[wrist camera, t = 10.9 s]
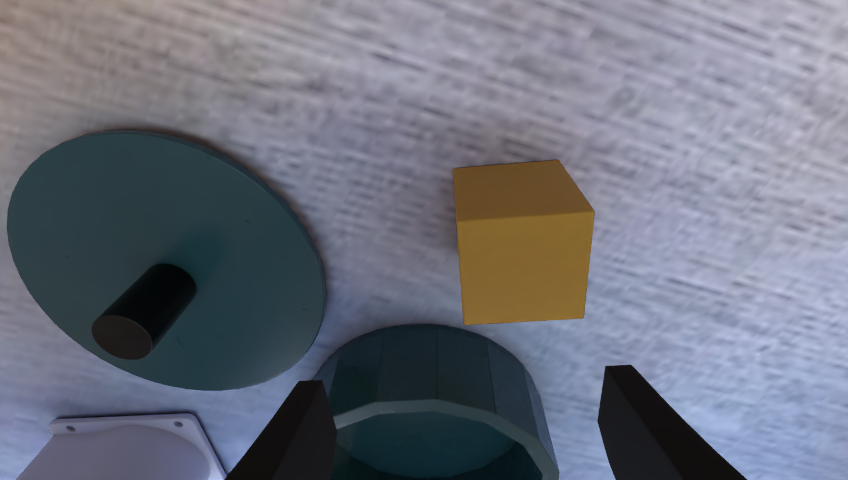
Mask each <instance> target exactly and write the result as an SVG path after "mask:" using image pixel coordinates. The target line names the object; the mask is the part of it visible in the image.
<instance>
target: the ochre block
mask: <svg viewBox="0 0 848 480" xmlns="http://www.w3.org/2000/svg"><path fill="white" fill-rule="evenodd" d="M453 184H454V198H455V213H456V227H457V241H458V256H459V270H460V283H461V297H462V311H463V323H464V325H475V324H493V323H511V322H529V321H547V320H565V319H582V318H584V311H585V301H586V292H587V282H588V272H589V263H590V253H591V243H592V233H593V224H594V214H595V211H594V210H593V208H592V207H591V205H590V204H589V202H588V201H587V200H586V198H585V197H584V195H583V194H582V192H581V191H580V190H579V188H578V187H577V185H576V184H575V182H574V181H573V180H572V178H571V177H570V175H569V174H568V173H567V171H566V170H565V168H564V167H563V165H562V164H561V163H560V161H559V160H550V161H538V162H526V163H513V164H501V165H489V166H477V167H464V168H454V169H453Z"/></svg>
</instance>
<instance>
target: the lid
mask: <svg viewBox="0 0 848 480" xmlns="http://www.w3.org/2000/svg"><path fill="white" fill-rule="evenodd" d="M7 232H8V241H9V246H10V250H11V253H12V257H13V261H14V263H15V265H16V268H17V270H18V272H19V275H20V277H21V279H22V280H23V282H24V284H25V286H26V287H27V289H28V291H29V292H30V294H31V295H32V297H33V298H34V299H35V301H36V302H37V303H38V305H39V306H40V307H41V309H42V310H43V311H44V312H45V313H46V314H47V315H48V316H49V318H50V319H51V320H52V321H53V322H54V323H55V324H56V325H57V326H58V327H59V328H60V329H62V330H63V331H64V332H65V333H66V334H67V335H68V336H69V337H71V338H72V339H73V340H74V341H76V342H77V343H78V344H80V345H81V346H82V347H84V348H85V349H87V350H88V351H90V352H91V353H93V354H94V355H96V356H97V357H99V358H101V359H102V360H104V361H106V362H108V363H110V364H112V365H114V366H115V367H117V368H120V369H122V370H124V371H126V372H129V373H131V374H133V375H136V376H138V377H141V378H144V379H147V380H150V381H153V382H157V383H161V384H164V385H168V386H173V387H179V388H184V389H192V390H203V391H222V390H232V389H239V388H244V387H249V386H253V385H256V384H259V383H262V382H265V381H268V380H270V379H272V378H274V377H276V376H278V375H280V374H282V373H283V372H285V371H286V370H288V369H289V368H291V367H292V366H293V365H294V364H296V363H297V362H298V361H299V360H300V359H301V358H302V357H303V356H304V355H305V353H306V352H307V351H308V350H309V348H310V347H311V346H312V344H313V342H314V340H315V338H316V336H317V335H318V332H319V329H320V326H321V323H322V320H323V317H324V312H325V306H326V282H325V277H324V271H323V267H322V264H321V261H320V258H319V255H318V252H317V250H316V248H315V246H314V243H313V241H312V239H311V237H310V235H309V233H308V232H307V230H306V229H305V227H304V226H303V224H302V223H301V221H300V220H299V218H298V217H297V216H296V214H295V213H294V212H293V211H292V210H291V208H290V207H289V206H288V205H287V204H286V202H285V201H284V200H283V199H282V198H281V197H280V196H279V195H278V194H277V193H275V192H274V191H273V190H272V189H271V188H270V187H269V186H268V185H267V184H266V183H265V182H263V181H262V180H261V179H259V178H258V177H257V176H255V175H254V174H253V173H251V172H250V171H249V170H247V169H246V168H244V167H243V166H241V165H239V164H238V163H236V162H234V161H233V160H231V159H229V158H228V157H226V156H224V155H222V154H220V153H218V152H215V151H213V150H211V149H209V148H207V147H205V146H202V145H199V144H196V143H194V142H191V141H188V140H185V139H182V138H179V137H174V136H170V135H165V134H161V133H156V132H147V131H138V130H109V131H103V132H97V133H91V134H87V135H84V136H81V137H78V138H75V139H72V140H69V141H66V142H64V143H61V144H60V145H58V146H56V147H54V148H52V149H50V150H49V151H47V152H45V153H44V154H42V155H41V156H40V157H39V158H38V159H36V160H35V161H34V162H33V163H32V164H31V165H30V166H29V167H28V168H27V170H26V171H25V172H24V173H23V175H22V176H21V177H20V179H19V181H18V183H17V185H16V187H15V189H14V191H13V193H12V196H11V200H10V203H9V207H8V216H7Z"/></svg>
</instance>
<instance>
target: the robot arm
mask: <svg viewBox="0 0 848 480" xmlns="http://www.w3.org/2000/svg"><path fill="white" fill-rule="evenodd" d="M598 425H599V428H600V432H601V436H602V439H603V443H604V447H605V450H606V453H607V457H608V460H609V463H610V466H611V469H612V471H613V474H614V476H615V479H616V480H747V479H746V478H745V477H744V476H743V475H741V474H740V473H739V472H738V471H737V470H736V469H735V468H734V467H733V466H731V465H730V464H729V463H728V462H727V461H726V460H725V459H724V458H723V457H722V456H721V455H720V454H718V453H717V452H716V451H715V450H714V449H713V448H712V447H711V446H710V445H709V444H708V443H707V442H706V441H705V440H704V439H703V438H702V437H701V436H700V435H699V434H698V433H697V432H696V431H695V430H694V429H693V428H692V427H691V426H689V425H688V424H687V423H686V422H685V421H684V420H683V419H682V418H681V416H680V415H679V414H678V413H677V412H676V411H675V410H674V409H673V408H672V407H671V406H670V405H669V404H668V403H667V402H666V401H665V400H664V399H663V398H662V397H661V396H660V395H659V394H658V393H657V392H656V391H655V389H654V388H653V387H652V386H651V385H650V384H649V383H648V382H647V381H646V380H645V379H644V378H643V377H642V376H641V374H640V373H639V372H638V371H637V370H636V369H635V368H634V367H633V366H632V365H617V366H605V373H604V380H603V387H602V394H601V401H600V408H599V415H598ZM48 428H49V430H50V431H51V433H52V434H53V435H54V436H53V437H52V438H51V440H50V441H49V442H48V443H47V444H46V445H45V447H44V448H43V449H42V450H41V451H40V452H39V454H38V455H37V456H36V457H35V458H34V459H33V460H32V462H31V463H30V464H29V465H28V466H27V467H26V469H25V470H24V471H23V472H22V473H21V474H20V476H19V477H18V478H17V479H16V480H330V478H331V473H332V467H333V461H334V454H335V446H336V439H337V429H336V425H335V422H334V418H333V415H332V412H331V408H330V405H329V401H328V398H327V394H326V391H325V388H324V384H323V381H322V380H311V381H299V382H298V383H297V384H296V386H295V387H294V388H293V390H292V391H291V393H290V394H289V395H288V397H287V398H286V400H285V401H284V402H283V404H282V405H281V407H280V408H279V409H278V411H277V412H276V414H275V415H274V416H273V418H272V419H271V420H270V422H269V423H268V424H267V426H266V427H265V429H264V430H263V431H262V433H261V434H260V435H259V436H258V438H257V439H256V440H255V442H254V443H253V444H252V446H251V447H250V448H249V449H248V451H247V452H246V453H245V455H244V456H243V457H242V459H241V460H240V461H239V462H238V464H237V465H236V466H235V467H234V468H233V470H232V471H231V472H230V473H229V474H228V476H226V474H225V472H224V470H223V468H222V466H221V464H220V462H219V460H218V458H217V457H216V455H215V453H214V451H213V449H212V447H211V445H210V443H209V441H208V439H207V437H206V435H205V434H204V432H203V430H202V428H201V426H200V424H199V422H198V420H197V418H196V417H195V416H194V415H192V414H187V413H186V414H164V415H141V416H119V417H96V418H73V419H55V420H53V421H52V422H51V423H50V424H49V425H48Z"/></svg>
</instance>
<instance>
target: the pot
mask: <svg viewBox="0 0 848 480" xmlns="http://www.w3.org/2000/svg"><path fill="white" fill-rule="evenodd" d="M314 380H322V381H323V384H324V388H325V391H326V394H327V398H328V401H329V405H330V408H331V412H332V415H333V418H334V422H335V425H336V429H337V439H336V446H335V454H334V461H333V467H332V473H331V478H330V480H559V469H558V465H557V461H556V458H555V454H554V450H553V446H552V442H551V438H550V434H549V430H548V426H547V422H546V418H545V414H544V410H543V406H542V402H541V398H540V395H539V393H538V392H537V390H536V388H535V385H534V383H533V380H532V378H531V376H530V375H529V373H528V372H527V370H526V369H525V367H524V366H523V365H522V364H521V363H520V362H519V361H518V360H517V359H516V358H515V356H513V355H512V354H511V353H510V352H508V351H507V350H506V349H504V348H503V347H501V346H500V345H498V344H496V343H495V342H493V341H491V340H489V339H487V338H485V337H482V336H480V335H478V334H475V333H472V332H469V331H466V330H462V329H458V328H453V327H448V326H442V325H431V324H410V325H400V326H393V327H388V328H384V329H379V330H376V331H373V332H370V333H367V334H364V335H362V336H360V337H358V338H356V339H354V340H352V341H350V342H349V343H347V344H345V345H344V346H342V347H341V348H339V349H338V350H337V351H336V352H335V353H334V354H332V355H331V356H330V357H329V358H328V359H327V361H326V362H325V363H324V364H323V365H322V367H321V368H320V370H319V372H318V373H317V374H316V375H315V377H314Z"/></svg>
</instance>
